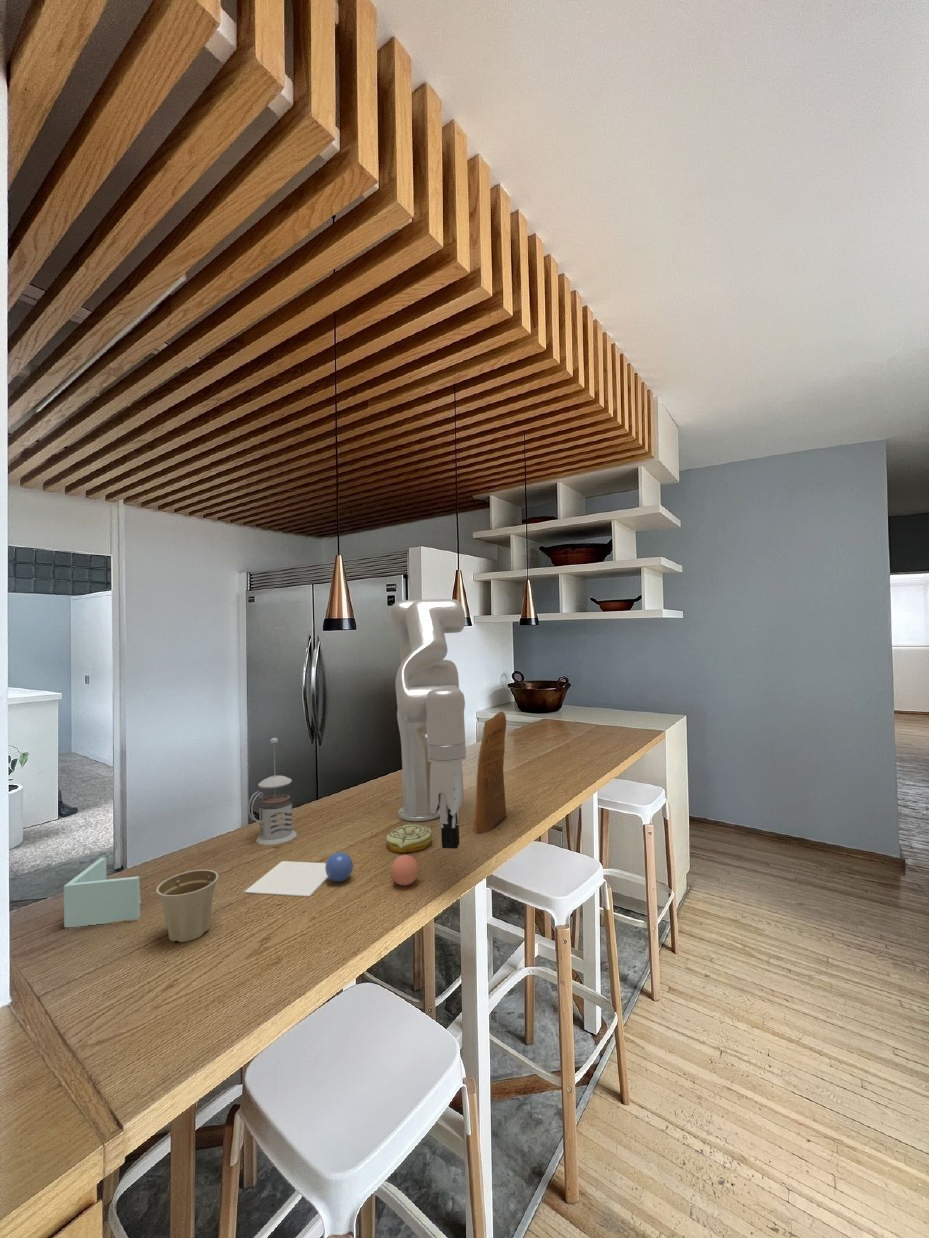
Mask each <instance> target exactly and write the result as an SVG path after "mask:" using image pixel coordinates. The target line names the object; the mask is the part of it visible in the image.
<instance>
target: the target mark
mask: <svg viewBox="0 0 929 1238" xmlns="http://www.w3.org/2000/svg"><path fill="white" fill-rule="evenodd" d="M325 866H326V862H305V861H284V860H281V861H280V862H279V863H278V864H276V865H275V866H274V867H273V868H272V869H270V870H269V871H268V872H267V873H265V874H264V875H263V876H261V878H259V879H258V880H256V881H255V882H254V883H253V884H252V885H251V886H249V887H248V888H246V889H245V890H244V891H243V893H244V894H255V895H257V894H258V895H272V896H289V897H290V896H291V897H294V896H295V897H306V898H307V897H309V898H310V897H311V896H312V895H313V894H314V893H315V892H316V891H317V889H319V888H320V887H321V886H322V885H323V884H324V882H326V880H327V879H329V878H328V876H327V874H326V871H325Z"/></svg>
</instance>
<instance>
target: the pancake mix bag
mask: <svg viewBox="0 0 929 1238" xmlns="http://www.w3.org/2000/svg"><path fill="white" fill-rule="evenodd" d="M483 723H484V726H483V731H482V735H481V743H480V747H479V752H478V758H477V768H476V769H477V773H476V791H475V792H476V800H475V806H474V807H475V808H474V814H473V815H474V817H473V831H475V834H479V832H482V833H487V831H488V832H491V831H492V830H493V829H495V827H497V825H499V824H500V823H501V822H502V821H503V820H504V819H506V818H507V809H506V807H507V806H506V793H505V780H504V779H505V778H504V761H505V760H504V758H505V747H506V745H505V743H506V742H505V739H506V731H507V718H506V714H505V713H504V712H503V710H501V711H499V712H497V713H496V714H495V715H494V716H493V717H491V718H489V719H488V720H485V721H484V722H483ZM500 821H501V822H500Z"/></svg>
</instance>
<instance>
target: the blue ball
mask: <svg viewBox="0 0 929 1238" xmlns="http://www.w3.org/2000/svg"><path fill="white" fill-rule="evenodd" d="M325 863H326V866H325V871H326V874H327V876H328V878H327V879H330V881H332V882H336V883H340V882H343V881H345V880H347V879H348V878H349V877H350V876H351V874H352V873H353V868H354V862H353V860H352V857H351V856H350V855H349V854H348V853H346V852H344V851H343V852H342V851H338V852H335V853H333V854H332V855H330V856H329V857H328V859H327V860H326V862H325Z"/></svg>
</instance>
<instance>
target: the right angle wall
mask: <svg viewBox="0 0 929 1238" xmlns="http://www.w3.org/2000/svg"><path fill="white" fill-rule="evenodd" d="M106 878H107V857H100V858H98V859H97V860H95V861H94V862H93V863H92V864H91V865H89V866H88V867H87V868H86V869H84V870H83V871H82V872H80V873H79V874H78V875H76V876H75V877H73V878H72V879H71V880H70V881H68V882H67V883H66V884H64V885H63V911H64V912H63V921H64V922H63V925H64V926H63V928H64V927H76V926H77V927H78V928H80V927H79V926H86V925H87V927H89V926H88V925H96V924H105V923H110V922H115V921H116V922H117V921H120V920H121V921H122V920H132V919H133V920H134V919H138V918H139V917H140V918H141V905H140V903H141V904H142V900H141V895H142V894H141V892H140V888H141V887H140V876H139V875H138V876H131V877H130V876H129V877H119V878H112V879H111V878H110V879H106ZM140 900H141V901H140ZM105 925H106V924H105ZM96 926H97V925H96Z"/></svg>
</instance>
